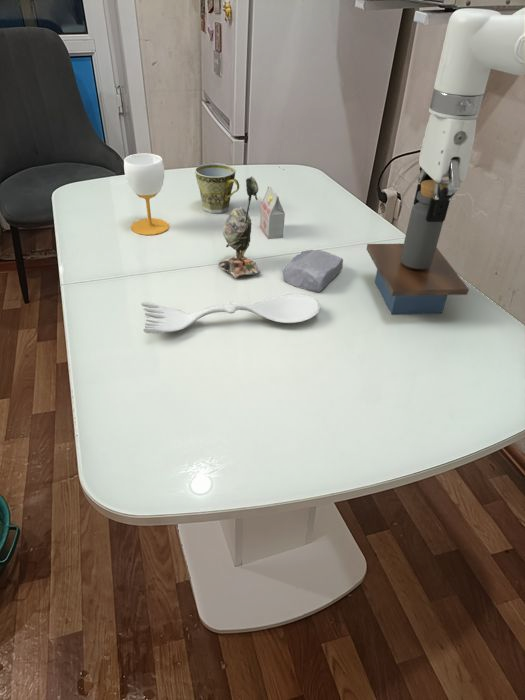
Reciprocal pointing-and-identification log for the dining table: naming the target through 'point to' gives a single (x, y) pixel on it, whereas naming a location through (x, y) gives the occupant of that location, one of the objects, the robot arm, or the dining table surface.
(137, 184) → the cup
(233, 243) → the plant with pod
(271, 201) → the milk carton
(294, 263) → the stone block
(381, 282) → the box
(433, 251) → the bottle
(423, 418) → the dining table surface
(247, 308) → the spoon
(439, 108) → the robot arm
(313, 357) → the dining table surface
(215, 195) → the ceramic cup
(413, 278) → the board
